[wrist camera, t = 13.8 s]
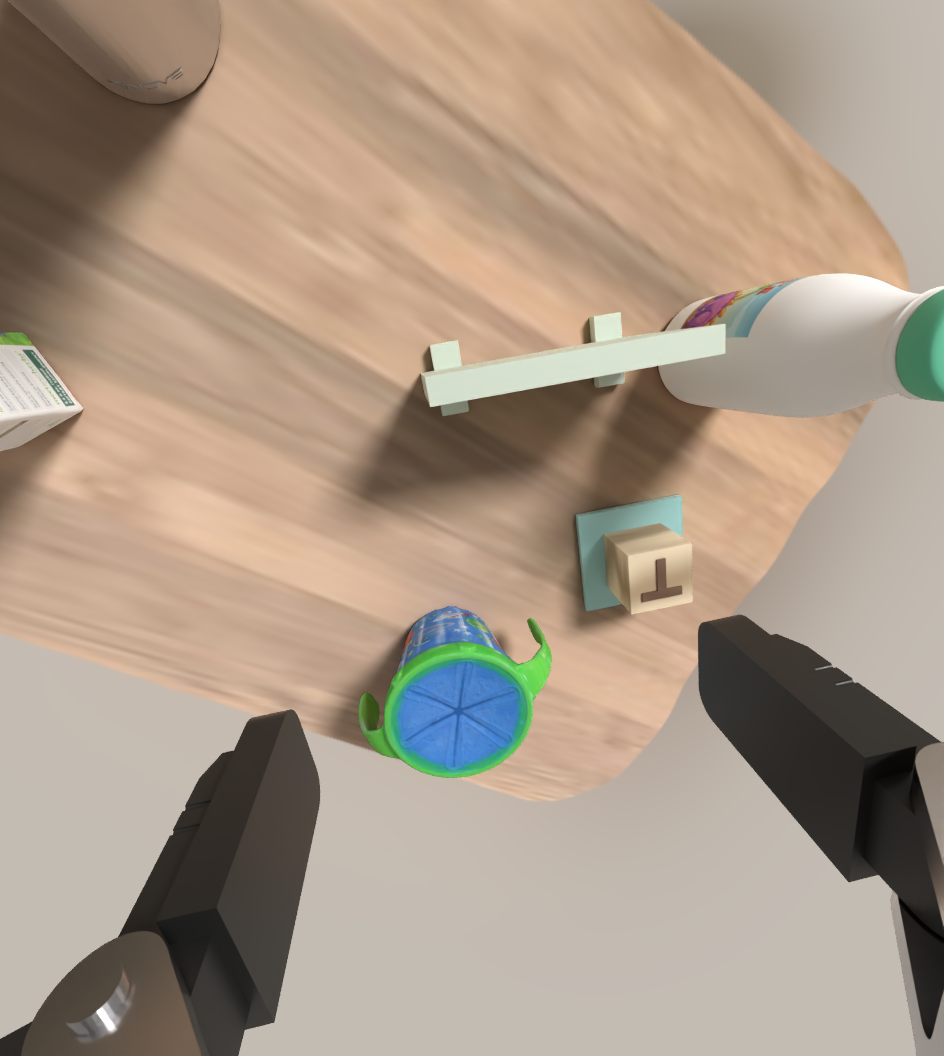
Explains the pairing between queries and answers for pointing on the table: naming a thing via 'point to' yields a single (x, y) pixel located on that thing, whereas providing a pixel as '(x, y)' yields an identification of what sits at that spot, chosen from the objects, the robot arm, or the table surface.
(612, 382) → the screen
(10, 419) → the syrup box
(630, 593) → the letter cube
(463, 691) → the snack cup
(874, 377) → the milk bottle
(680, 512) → the pad
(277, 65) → the table surface
